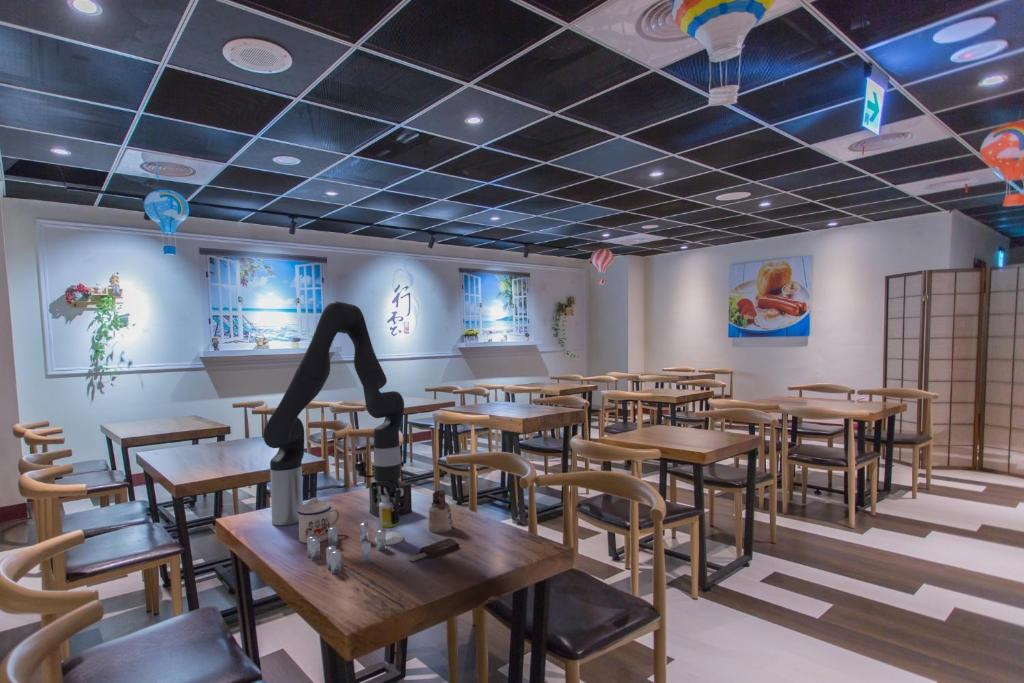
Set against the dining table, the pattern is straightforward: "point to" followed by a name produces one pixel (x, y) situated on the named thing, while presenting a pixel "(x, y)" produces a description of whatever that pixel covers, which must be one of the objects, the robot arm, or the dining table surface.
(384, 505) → the supplement bottle
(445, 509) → the figurine
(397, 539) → the saucer
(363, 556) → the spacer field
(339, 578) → the dining table surface
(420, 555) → the ice cream bar
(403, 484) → the coffee grinder
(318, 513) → the teacup with lid
